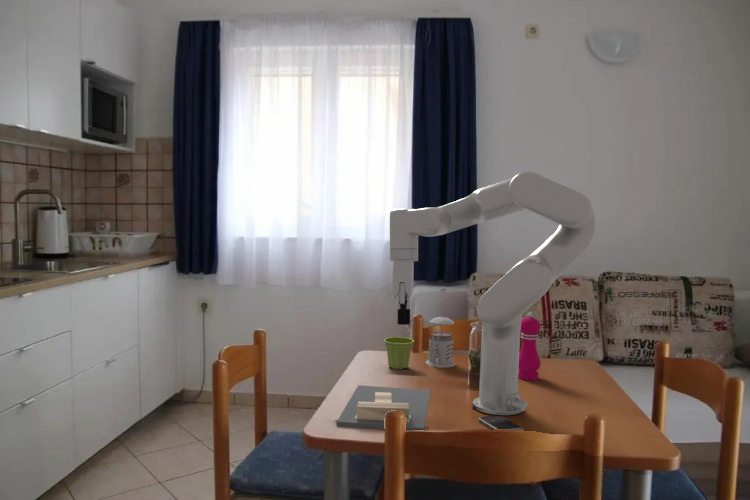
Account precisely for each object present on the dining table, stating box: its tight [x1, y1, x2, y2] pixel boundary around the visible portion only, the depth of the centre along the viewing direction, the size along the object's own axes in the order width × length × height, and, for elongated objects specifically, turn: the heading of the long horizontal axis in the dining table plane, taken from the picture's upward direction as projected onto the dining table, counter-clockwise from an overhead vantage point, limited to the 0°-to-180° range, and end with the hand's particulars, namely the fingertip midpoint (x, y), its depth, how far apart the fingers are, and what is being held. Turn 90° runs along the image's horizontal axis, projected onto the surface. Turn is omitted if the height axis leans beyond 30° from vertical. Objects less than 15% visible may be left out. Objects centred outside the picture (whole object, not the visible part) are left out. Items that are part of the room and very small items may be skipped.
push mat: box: [336, 384, 431, 431], centre depth 159 cm, size 30×20×1 cm, turn 172°
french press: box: [425, 286, 456, 368], centre depth 205 cm, size 10×12×25 cm
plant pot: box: [383, 336, 415, 370], centre depth 200 cm, size 9×9×9 cm
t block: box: [357, 392, 409, 421], centre depth 153 cm, size 12×12×3 cm
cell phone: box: [478, 414, 525, 431], centre depth 148 cm, size 6×11×1 cm, turn 22°
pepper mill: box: [518, 311, 541, 381], centre depth 191 cm, size 7×7×20 cm
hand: (403, 323), depth 169 cm, fingers closed
